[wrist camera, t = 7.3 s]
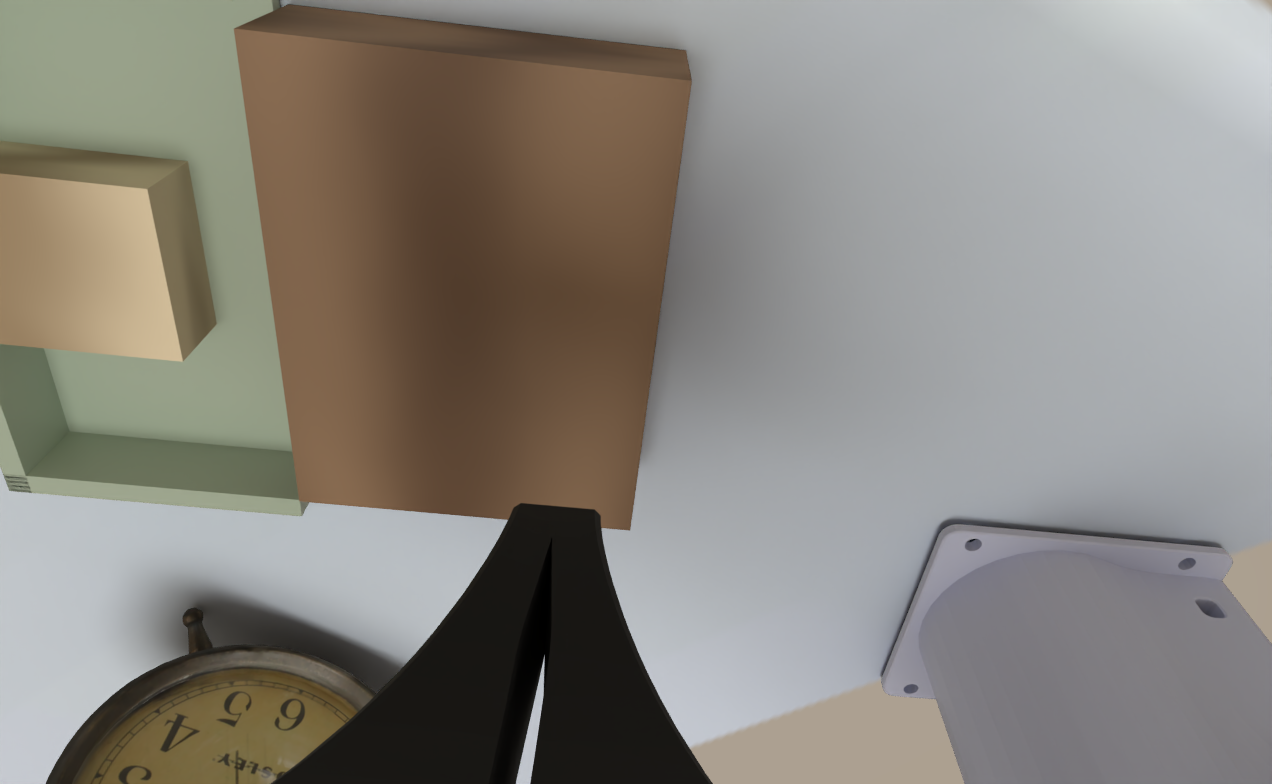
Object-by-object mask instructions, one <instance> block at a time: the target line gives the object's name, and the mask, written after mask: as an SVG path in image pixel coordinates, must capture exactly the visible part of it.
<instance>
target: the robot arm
mask: <svg viewBox="0 0 1272 784" xmlns="http://www.w3.org/2000/svg"><path fill="white" fill-rule="evenodd" d="M971 539H976V540H974V541H972V542H967V541H969V540H971ZM966 542H967V543H966ZM1232 564H1233V560H1232V558H1231V556H1230V555H1229V554H1228V553H1227V552H1226V551H1225V550H1224V549H1222V548H1218V547H1207V546H1196V545H1185V544H1174V543H1163V542H1151V541H1140V540H1129V539H1118V538H1107V537H1096V536H1085V535H1074V534H1063V533H1052V532H1040V531H1029V530H1018V529H1007V528H996V527H985V526H974V525H963V524H954V525H950V526H947V527H946V528H944V529H943V530H942V531H941V533H940V534H939V536H938V539H937V541H936V544H935V546H934V549H933V551H932V554H931V556H930V559H929V561H928V564H927V566H926V569H925V571H924V574H923V576H922V579H921V581H920V584H919V586H918V589H917V591H916V594H915V596H914V599H913V601H912V604H911V606H910V609H909V611H908V614H907V616H906V619H905V621H904V624H903V626H902V629H901V631H900V634H899V636H898V639H897V641H896V644H895V646H894V649H893V651H892V654H891V656H890V659H889V661H888V664H887V666H886V669H885V671H884V674H883V676H882V679H881V683H882V687H883V690H884V692H885V693H887V694H888V695H892V696H902V697H915V698H928V699H936V700H937V703H938V706H939V709H940V712H941V715H942V718H943V721H944V724H945V727H946V730H947V733H948V736H949V739H950V742H951V745H952V748H953V751H954V754H955V756H956V759H957V762H958V765H959V768H960V771H961V774H962V777H963V780H964V783H965V784H1272V644H1271V643H1270V642H1269V640H1268V639H1267V637H1266V636H1265V635H1264V634H1263V632H1262V631H1261V630H1260V629H1259V627H1258V626H1257V625H1256V623H1255V622H1254V621H1253V620H1252V618H1251V617H1250V616H1249V614H1248V613H1247V612H1246V611H1245V609H1244V608H1243V607H1242V606H1241V604H1240V603H1239V602H1238V601H1237V600H1236V598H1235V597H1234V595H1233V594H1232V593H1231V592H1230V590H1229V589H1228V588H1227V586H1226V585H1225V584H1224V583H1223V581H1222V580H1223V578H1224V577H1225V576H1226V574H1227V572H1228V571H1229V569H1230V568H1231V566H1232ZM544 655H545V667H544V697H543V704H542V711H541V718H540V724H539V731H538V738H537V745H536V751H535V758H534V764H533V771H532V777H531V784H713V783H712V782H711V781H710V779H709V778H708V776H707V775H706V774H705V772H704V770H703V769H702V767H701V766H700V764H699V763H698V761H697V759H696V758H695V756H694V755H693V753H692V751H691V750H690V748H689V747H688V745H687V744H686V742H685V740H684V739H683V737H682V736H681V734H680V733H679V731H678V729H677V728H676V726H675V724H674V723H673V721H672V719H671V717H670V715H669V713H668V712H667V710H666V708H665V706H664V704H663V703H662V701H661V699H660V697H659V695H658V693H657V691H656V689H655V687H654V685H653V683H652V681H651V679H650V677H649V675H648V673H647V671H646V669H645V666H644V664H643V662H642V660H641V658H640V655H639V653H638V651H637V648H636V646H635V643H634V641H633V639H632V636H631V634H630V631H629V629H628V626H627V623H626V621H625V618H624V615H623V613H622V610H621V606H620V603H619V600H618V597H617V594H616V591H615V588H614V585H613V582H612V578H611V575H610V571H609V567H608V563H607V559H606V554H605V550H604V544H603V538H602V531H601V515H600V514H599V513H598V512H597V511H596V510H595V509H584V508H573V507H561V506H550V505H538V504H527V503H520V504H518V505H517V506H515V507H514V508H513V510H512V512H511V515H510V517H509V519H508V522H507V524H506V526H505V528H504V530H503V531H502V533H501V535H500V537H499V539H498V541H497V542H496V544H495V546H494V547H493V549H492V551H491V552H490V554H489V556H488V557H487V559H486V561H485V562H484V564H483V565H482V567H481V568H480V570H479V571H478V573H477V574H476V576H475V577H474V579H473V580H472V582H471V583H470V585H469V586H468V588H467V589H466V591H465V592H464V593H463V595H462V596H461V597H460V599H459V600H458V601H457V603H456V604H455V605H454V607H453V608H452V609H451V611H450V612H449V613H448V614H447V616H446V617H445V618H444V620H443V621H442V622H441V624H440V625H439V626H438V627H437V629H436V630H435V631H434V632H433V634H432V635H431V636H430V637H429V638H428V640H427V641H426V642H425V643H424V644H423V646H422V647H421V648H420V649H419V650H418V651H417V652H416V654H415V655H414V656H413V657H412V658H411V659H410V660H409V661H408V662H407V663H406V665H405V666H404V667H403V668H402V669H401V670H400V671H399V672H398V673H397V674H396V675H395V676H394V677H393V678H392V679H391V680H390V681H389V682H388V683H387V684H386V685H385V686H384V687H383V688H382V689H381V690H380V691H379V692H378V693H377V694H376V695H375V696H374V697H373V698H372V699H371V700H370V701H369V702H368V703H367V704H366V705H365V706H364V707H363V708H362V709H361V710H360V711H359V712H358V713H356V714H355V715H354V716H353V717H352V718H351V719H350V720H349V721H348V722H347V723H345V724H344V725H343V726H342V727H341V728H339V729H338V730H337V731H336V732H335V733H333V734H332V735H331V736H330V737H329V738H328V739H326V740H325V741H324V742H323V743H322V744H320V745H319V746H318V747H317V748H316V749H314V750H313V751H312V752H311V753H310V754H308V755H307V756H306V757H305V758H304V759H303V760H301V761H300V762H299V763H297V764H296V765H295V766H294V767H292V768H291V769H290V770H288V771H287V772H286V773H284V774H283V775H282V776H280V777H279V778H277V779H276V780H275V781H273V782H272V783H270V784H516V779H517V774H518V770H519V765H520V761H521V757H522V752H523V748H524V743H525V739H526V735H527V730H528V726H529V721H530V717H531V713H532V708H533V704H534V699H535V695H536V690H537V686H538V682H539V677H540V673H541V668H542V664H543V659H544Z"/></svg>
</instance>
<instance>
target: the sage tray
mask: <svg viewBox="0 0 1272 784" xmlns="http://www.w3.org/2000/svg"><path fill="white" fill-rule="evenodd" d="M279 8H280V5H279V0H0V141H7V142H16V143H26V144H35V145H44V146H53V147H62V148H71V149H81V150H90V151H99V152H108V153H117V154H126V155H136V156H145V157H154V158H163V159H172V160H181V161H188V164H189V170H190V176H191V181H192V187H193V193H194V198H195V204H196V210H197V215H198V221H199V226H200V232H201V238H202V243H203V249H204V255H205V260H206V266H207V272H208V277H209V283H210V288H211V294H212V300H213V305H214V311H215V317H216V322H217V325H216V326H215V327H214V328H213V329H212V330H211V331H210V332H209V333H208V335H207V336H206V337H205V338H204V339H203V340H202V341H201V342H200V343H199V345H198V346H197V347H196V348H195V349H194V350H193V351H192V352H191V353H190V355H189V356H188V357H187V358H186V359H185V360H184V361H183V362H180V361H169V360H159V359H149V358H139V357H128V356H118V355H108V354H98V353H87V352H77V351H67V350H57V349H46V348H36V347H26V346H15V345H5V344H0V467H1V470H2V472H3V475H4V478H5V480H6V483H7V486H8V488H9V491H17V492H28V493H40V494H51V495H63V496H74V497H86V498H97V499H109V500H120V501H132V502H143V503H155V504H166V505H177V506H189V507H200V508H212V509H223V510H235V511H246V512H258V513H269V514H281V515H292V516H302V515H303V513H304V511H305V509H306V507H307V506H308V504H309V502H302V501H299V496H298V489H297V481H296V474H295V467H294V460H293V453H292V445H291V438H290V431H289V424H288V417H287V409H286V402H285V395H284V388H283V381H282V373H281V366H280V359H279V352H278V344H277V337H276V330H275V323H274V316H273V308H272V301H271V294H270V287H269V280H268V272H267V265H266V258H265V251H264V244H263V236H262V229H261V222H260V215H259V207H258V200H257V193H256V186H255V179H254V171H253V164H252V157H251V150H250V143H249V135H248V128H247V121H246V114H245V106H244V99H243V92H242V85H241V78H240V70H239V63H238V56H237V49H236V42H235V34H234V28H236V27H238V26H241V25H243V24H245V23H247V22H250V21H252V20H254V19H256V18H259V17H261V16H263V15H266V14H268V13H270V12H272V11H275V10H277V9H279Z"/></svg>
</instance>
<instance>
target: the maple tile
mask: <svg viewBox="0 0 1272 784" xmlns="http://www.w3.org/2000/svg"><path fill="white" fill-rule="evenodd" d="M216 325H217V322H216V317H215V311H214V305H213V300H212V294H211V288H210V283H209V277H208V272H207V266H206V260H205V255H204V249H203V243H202V238H201V232H200V226H199V221H198V215H197V210H196V204H195V198H194V193H193V187H192V181H191V176H190V170H189V164H188V161H181V160H172V159H163V158H154V157H145V156H136V155H126V154H117V153H108V152H99V151H90V150H81V149H71V148H62V147H53V146H44V145H35V144H26V143H16V142H7V141H0V344H5V345H15V346H26V347H36V348H46V349H57V350H67V351H77V352H87V353H98V354H108V355H118V356H128V357H139V358H149V359H159V360H169V361H180V362H183V361H184V360H185V359H186V358H187V357H188V356H189V355H190V353H191V352H192V351H193V350H194V349H195V348H196V347H197V346H198V345H199V343H200V342H201V341H202V340H203V339H204V338H205V337H206V336H207V335H208V333H209V332H210V331H211V330H212V329H213V328H214V327H215V326H216Z"/></svg>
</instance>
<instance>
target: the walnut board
mask: <svg viewBox="0 0 1272 784" xmlns="http://www.w3.org/2000/svg"><path fill="white" fill-rule="evenodd" d="M234 34H235V42H236V49H237V56H238V63H239V70H240V78H241V85H242V92H243V99H244V106H245V114H246V121H247V128H248V135H249V143H250V150H251V157H252V164H253V171H254V179H255V186H256V193H257V200H258V207H259V215H260V222H261V229H262V236H263V244H264V251H265V258H266V265H267V272H268V280H269V287H270V294H271V301H272V308H273V316H274V323H275V330H276V337H277V344H278V352H279V359H280V366H281V373H282V381H283V388H284V395H285V402H286V409H287V417H288V424H289V431H290V438H291V445H292V453H293V460H294V467H295V474H296V481H297V489H298V496H299V501H302V502H313V503H325V504H336V505H347V506H359V507H370V508H382V509H393V510H404V511H416V512H427V513H438V514H450V515H461V516H473V517H484V518H495V519H507V520H508V519H509V517H510V515H511V512H512V510H513V508H514V507H515V506H517V505H518V504H520V503H527V504H538V505H550V506H561V507H573V508H584V509H595V510H596V511H597V512H598V513H599V514H600V515H601V528H609V529H620V530H630V527H631V519H632V512H633V505H634V498H635V490H636V483H637V476H638V468H639V461H640V454H641V447H642V439H643V432H644V425H645V417H646V410H647V403H648V396H649V388H650V381H651V374H652V366H653V359H654V352H655V345H656V337H657V330H658V323H659V315H660V308H661V301H662V294H663V286H664V279H665V272H666V264H667V257H668V250H669V243H670V235H671V228H672V221H673V214H674V206H675V199H676V192H677V184H678V177H679V170H680V163H681V155H682V148H683V141H684V133H685V126H686V119H687V112H688V104H689V97H690V90H691V82H692V80H691V75H690V69H689V64H688V59H687V54H686V51H685V50H677V49H668V48H660V47H651V46H642V45H634V44H625V43H616V42H608V41H599V40H591V39H582V38H573V37H565V36H556V35H547V34H539V33H530V32H522V31H513V30H504V29H496V28H487V27H478V26H470V25H461V24H453V23H444V22H435V21H427V20H418V19H410V18H401V17H392V16H384V15H375V14H366V13H358V12H349V11H341V10H332V9H323V8H315V7H306V6H297V5H289V4H288V5H286V6H284V7H281V8H279V9H277V10H275V11H272V12H270V13H268V14H266V15H263V16H261V17H259V18H256V19H254V20H252V21H250V22H247V23H245V24H243V25H241V26H238V27H236V28H234Z"/></svg>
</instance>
